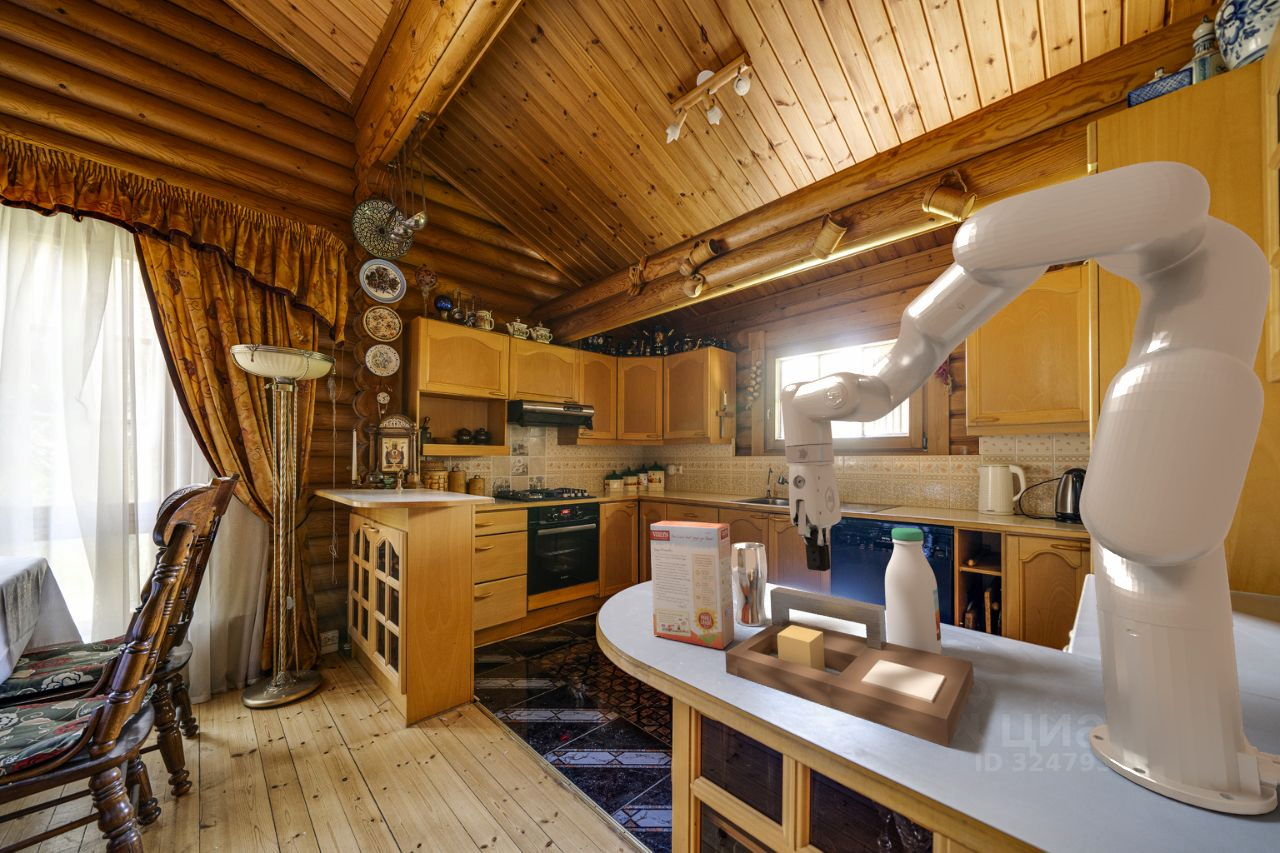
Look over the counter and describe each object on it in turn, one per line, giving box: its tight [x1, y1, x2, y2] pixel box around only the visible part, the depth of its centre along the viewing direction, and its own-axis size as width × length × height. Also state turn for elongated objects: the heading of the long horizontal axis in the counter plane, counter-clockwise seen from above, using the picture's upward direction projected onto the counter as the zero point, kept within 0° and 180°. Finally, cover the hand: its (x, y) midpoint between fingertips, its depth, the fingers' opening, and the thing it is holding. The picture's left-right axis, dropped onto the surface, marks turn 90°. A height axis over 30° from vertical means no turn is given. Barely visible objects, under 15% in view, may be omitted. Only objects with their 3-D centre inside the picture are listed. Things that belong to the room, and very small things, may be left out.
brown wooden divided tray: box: [725, 620, 975, 748], centre depth 70 cm, size 29×19×3 cm, turn 48°
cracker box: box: [650, 520, 735, 650], centre depth 87 cm, size 14×6×21 cm, turn 58°
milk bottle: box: [884, 527, 942, 655], centre depth 79 cm, size 8×8×20 cm
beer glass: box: [731, 541, 768, 627], centre depth 94 cm, size 7×7×15 cm
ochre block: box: [777, 625, 826, 672], centre depth 72 cm, size 5×5×6 cm
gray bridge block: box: [769, 586, 888, 650], centre depth 79 cm, size 18×3×6 cm, turn 48°
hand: (819, 569), depth 77 cm, fingers closed
